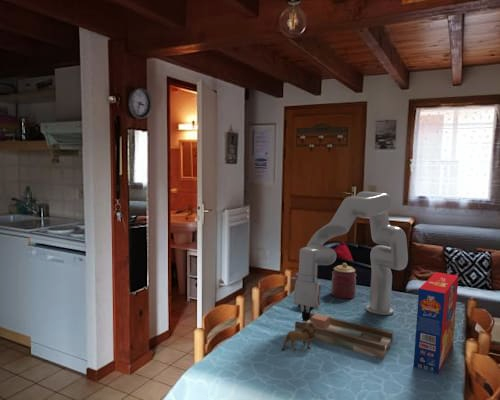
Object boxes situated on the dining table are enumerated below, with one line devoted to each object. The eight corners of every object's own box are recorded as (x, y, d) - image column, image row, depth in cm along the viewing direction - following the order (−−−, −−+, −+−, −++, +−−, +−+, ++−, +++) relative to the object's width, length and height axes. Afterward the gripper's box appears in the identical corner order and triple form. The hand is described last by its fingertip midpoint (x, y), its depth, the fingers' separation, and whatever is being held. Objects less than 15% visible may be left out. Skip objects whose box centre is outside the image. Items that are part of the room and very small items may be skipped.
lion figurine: (310, 341, 153) (311, 319, 152) (319, 347, 148) (320, 324, 147) (278, 348, 146) (279, 325, 145) (286, 354, 141) (287, 330, 141)
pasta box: (438, 374, 131) (444, 293, 128) (413, 366, 135) (419, 288, 133) (452, 345, 153) (458, 275, 151) (431, 339, 158) (436, 271, 156)
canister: (357, 293, 213) (359, 261, 212) (353, 300, 202) (355, 267, 200) (333, 289, 219) (335, 258, 217) (328, 296, 207) (329, 263, 206)
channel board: (308, 323, 170) (308, 312, 170) (391, 344, 152) (392, 332, 152) (294, 334, 158) (295, 322, 158) (383, 359, 140) (384, 345, 140)
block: (316, 322, 164) (316, 313, 164) (329, 325, 161) (330, 316, 161) (310, 327, 159) (310, 317, 159) (324, 330, 156) (324, 321, 156)
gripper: (287, 276, 162) (285, 319, 164) (321, 282, 155) (319, 327, 156) (295, 272, 169) (293, 313, 170) (328, 278, 161) (326, 321, 163)
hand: (305, 320), depth 163 cm, fingers closed
